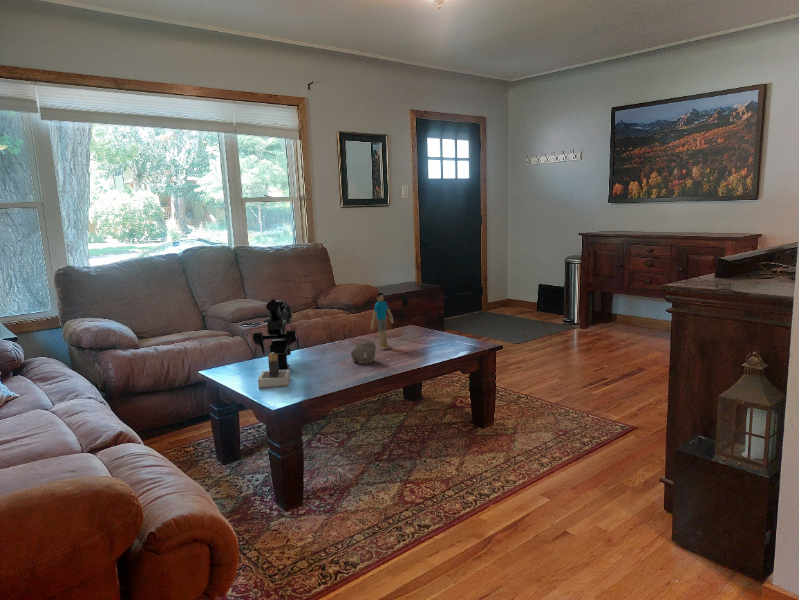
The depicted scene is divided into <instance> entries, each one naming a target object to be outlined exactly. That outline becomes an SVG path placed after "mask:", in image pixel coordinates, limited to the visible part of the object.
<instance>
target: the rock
mask: <svg viewBox="0 0 799 600" xmlns="http://www.w3.org/2000/svg"><path fill="white" fill-rule="evenodd" d="M376 351H377V346H376V344H375V342H374V341H367V342H366V341H365V342H361V343H359V344H357V345H356V346H355V347H354V349H353V350H352V351H351V353H350V355H351V358H352V362H353V363H358V364H360V365H361V364H365V365H367V364H369V363H370V364H372V363H373V362H374V359H375V358H376Z"/></svg>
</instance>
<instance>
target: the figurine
mask: <svg viewBox="0 0 799 600" xmlns="http://www.w3.org/2000/svg"><path fill="white" fill-rule="evenodd" d="M376 295H377V302H375V304H374V306H375V307H374V309H373V314H372V315H373V316H372V318H371V322H370V330H371V331H374V329H375V320H376V321H377V327H378V329H377V330H378V339H379V340H378V341H379V348H380V350H388V349H391V348H392V346H391V345H388V335H387V314H388V316H389V323H390V324H394V317H393V314H392V312H391V309H390V307H389V306H388V304H387V302H386V301H384V293H383V292H378V293H377V294H376Z"/></svg>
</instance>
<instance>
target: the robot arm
mask: <svg viewBox="0 0 799 600" xmlns="http://www.w3.org/2000/svg"><path fill="white" fill-rule="evenodd" d="M265 308H266V309H265V310H266V311H267V316H268V317H269V321H267V322H266V324H267V325H266V326H267V327H266V329H267V330H266V332H267V334H263V332H261V331H260V332H259V331H258V332H253V333H252V339H253V342H254V344H255V345H257V346H259V347H260V349H261V351H262V355H265V353H266V352H265V340H271V343H270V344H269V351H270V353H271V352H274V353H277V354H278V368H279V370H289V366H290V364H289V363H288V356H290V355H291V354H292V352H291V351H292V350H291V345H292V344H294V343H295V342H297V341H298V340H297V338H298V337H297V332H296V330H294V329H293V330H292V329H291V330H287V327H288V325H289V324H290V323H291V322H292V321H291V320H292V319H293V311H292V310H293V309H292V307H291V306H290V305H289V304H288V302H287V300H284V299H283V300H281V299H279V300H276V299H274V298H272V299H270V300H269V302H267V303H266V305H265ZM270 353H269V354H270Z"/></svg>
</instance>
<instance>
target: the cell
mask: <svg viewBox="0 0 799 600" xmlns="http://www.w3.org/2000/svg"><path fill="white" fill-rule="evenodd" d="M267 360H268V361H267V363H268V371H269V375H270V378H277V377H279V370H280V369H279V368H278V354H277V353H274V352H271V353H268V354H267Z"/></svg>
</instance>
